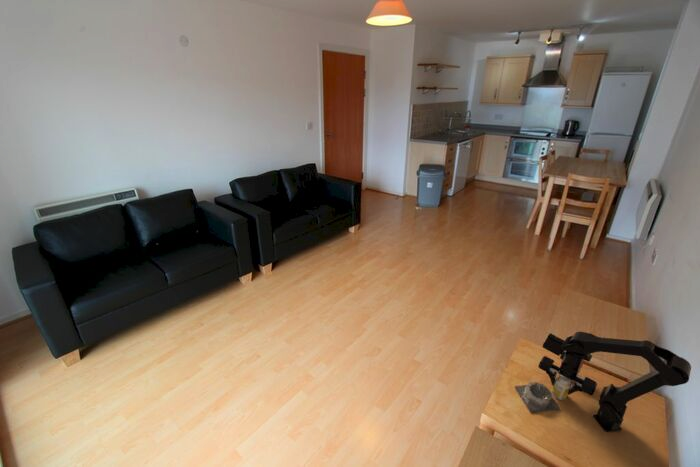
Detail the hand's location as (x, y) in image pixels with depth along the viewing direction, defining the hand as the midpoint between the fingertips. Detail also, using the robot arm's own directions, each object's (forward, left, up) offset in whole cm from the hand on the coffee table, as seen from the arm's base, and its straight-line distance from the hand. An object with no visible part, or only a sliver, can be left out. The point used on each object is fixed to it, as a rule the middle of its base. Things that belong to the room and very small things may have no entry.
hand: (560, 389), depth 131 cm
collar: (-1, +10, -3) cm, 11 cm away
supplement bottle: (0, 0, -3) cm, 3 cm away
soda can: (+9, -10, -3) cm, 14 cm away
